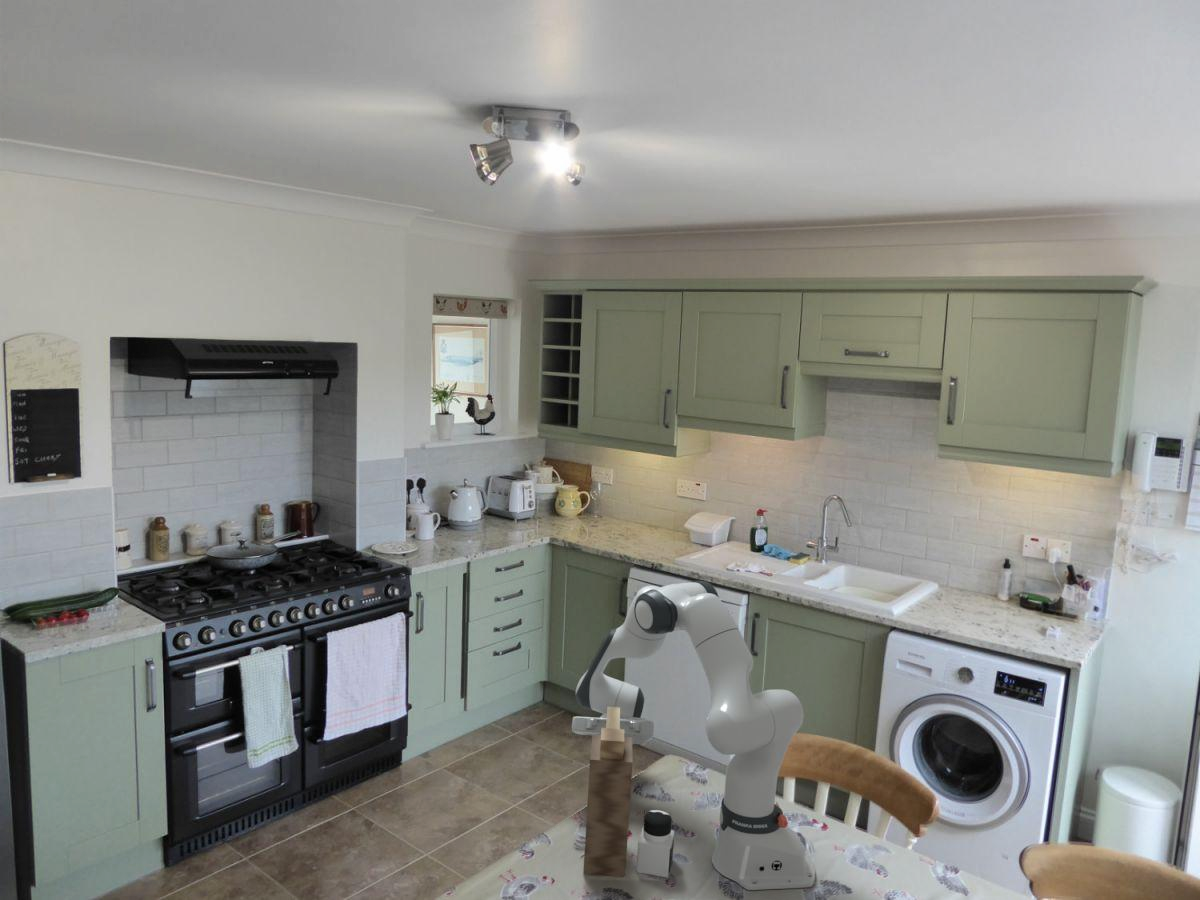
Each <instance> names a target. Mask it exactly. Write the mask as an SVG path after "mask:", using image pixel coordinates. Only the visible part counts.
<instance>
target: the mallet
mask: <svg viewBox="0 0 1200 900" xmlns="http://www.w3.org/2000/svg"><path fill="white" fill-rule="evenodd" d="M623 754H624V729H620V707H607V721H606V728H602V729H601V744H600V758H607V759H621V760H623Z"/></svg>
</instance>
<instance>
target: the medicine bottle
mask: <svg viewBox="0 0 1200 900" xmlns="http://www.w3.org/2000/svg"><path fill="white" fill-rule="evenodd" d="M672 822H673V818H672V816H671V814H669V813H668V812H666V811H663V810H660V809H659V810H658V809H654V810H653V809H652V810H649V811H647V812H646V813H645V814H644V816H643V826H642V829H641V831H640V836H639V839H638V842H637V859H636V872H637V873H639V874H645V875H651V876H657V877H662V878H667V879H668V878H669V877H670V873H671V869H672V864H673V859H674V846H675V831H674V829H672Z"/></svg>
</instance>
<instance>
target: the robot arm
mask: <svg viewBox="0 0 1200 900" xmlns="http://www.w3.org/2000/svg"><path fill="white" fill-rule="evenodd" d="M677 631H685V632H686V633H687V634H688V636H689V638H690V641H691V643H692V645H693V648H694V650H695V653H696V654H697V656H698V659H699V661H700V664H701V667H702V668H703V670H704V673H705V676H706V678H707V681H708V685H709V689H710V709H709V712H708V715H707V717H706V719H705V727H704V728H705V733H706V738H707V740H708V741H709V744H710V745H711V746H712V748H713V749H714V750H715V751H716V752H718V753H720V754H722V755H727V756H728V755H733V756H732V758H731V759H730V760H729V762H728V765H727V766H726V770H725V782H724V792H723V793H724V794H723V798H722V800H721V806H720V812H719V826H720V829H719V833H718V838H717V842H716V845H715V849H714V851H713V854H712V856H711V862H712V865H713V868H714V869H715V870H716V871H717V872H718V873H720V874H721V875H722V876H724V877H726V878H727V879H730V880H731V881H734V882H736V883H737V884H738V885H740V886H741V887H742V888H744V889H746V890H747V891H748V890H749V891H755V890H756V891H759V890H762V891H763V890H779V889H780V890H781V889H783V890H784V889H798V888H799V889H801V888H803V889H804V888H811V887H812V886H813V885H814V884H815V881H816V870H815V867H814V864H813V862H812V860H811V857H809V855H808V854H807V853H806V852H805V848H804V844H803V843H802V840H801V838H800V836H799V835H798V833H796V831H794V830H793V829H792V828H790V827H789V826H788V825H789V822H788V820H787V816H786V815H784V812H783V810H782V808H781V807H780V805H779V803H778V802H775V801H776V792H777V782H778V777H779V772H780V770H781V766H782V763H783V760H784V757H785V756H786V752H787V751H788V747H789V745H790V743H791V741H792V740H793V737H794V736H795V734H796V733H797V732H799V731H798V730H800V728H801V727H802V725H803V722H804V719H805V718H804V717H805V714H804V707H803V705H802V703H801V700H799V697H797V695H796V694H795V693H793V692H792V691H790V690H787V689H766V690H763V691H759V692H756V693H753V692H752V690H751V689H752V688H751V685H750V679H749V677H750V673H751V671H752V670H753V668H754V658H753V655H752V653H751V652H750V650H749V647H748V645H747V643H746V641H745V639H744V637H743V634H742V632H741V630H740V629H739V626H738V624H737V623H736V621H735V619H734V617H733V616H732V614H731V612H730V611H729V609H728V608H727V606H726V604H725V603H724V602H723V601H722V600H721V599H720V596H719V594H718V591H717V590H716V588H715V587H714V586H713V585H712V583H709V582H708V581H704V580H692V581H689V582H682V583H681V582H679V583H671V584H667V585H663V586H661V587H660V586H657V585H646V586H643V587H642V588H640V589H639V590H638V591H637V593H636V594H635V596H634V598H633V599H632V601H631V603H630V606H629V608H628V611H627V613H626V617H625V620H624V622H623V623H622V624H621V625H620V626H619V627H617V628H611V629H610V630H609V631H608V633H607V634H606V636H605V637H604V638H603V640H602V642H601V644H600V645H599V647H598V648H597V650H596V653H595V654H594V656H593V658H592V660H591V662H590V664H589V666H588V667H587V669H586V671H585V672H584V673H583V675H582V676H581V678H579V681H578V683H577V685H576V689H575V695H574V696H575V699H576V701H577V704H579V706H580V707H581V708H582V709H587V710H589V711H595V712H597V713H600V714H602V715H601V716H599V717H593V716H592V717H591V716H580V715H579V716H573V717H572V721H571V722H572V723H571V731H572V732H573V733H574V734H578V735H583V736H584V735H586V736H592V735H601V729H602V728H606V721H607V707H620V729H624V737H632V747H634V746H645V745H646V744H647V742H648V741H649V742H650V740H652V739H653V737H654V729H655V728H654V727H655V724H654V720H648V719H646V718H644V717H641V716H642V713H643V710H644V704H645V697H644V693H643V691H642V689H641V687H639V686H637V685H633V684H632V683H628V682H626V681H622V680H619V679H616V678H615V677H614V678H613V677H611V676H608V675H606V674H605V673H603V672H604V671H605V670H606V667H607V665H608V664H609V662H610V661H611V660H614V659H620V658H624V659H625V658H627V659H644V658H645V659H646V658H649V657H651V656H653V655H655V654H656V653H658V651H660V649H661V648H662V645H663V644H664V643H665V639H666V637H667V634H668V633H669V634H670V633H673V632H677Z"/></svg>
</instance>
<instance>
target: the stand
mask: <svg viewBox="0 0 1200 900" xmlns="http://www.w3.org/2000/svg"><path fill="white" fill-rule="evenodd" d="M591 736H592V738H591V745H590V746H591V747H590V757H589V769H588V770H589V771H588V789H587V803H586V804H587V806H586V809H587V810H586V822H585V823H586V824H585V825H586V826H585V837H584V838H585V841H584V854H583V855H584V856H583V857H584V858H583V873H582V875H584V876H585V875H586V876H595V877H596V876H598V877H609V876H610V878H611V877H612V878H615V877H616V878H623V877H625V878H626V871H627V870H626V868H627V855H628V854H627V853H628V842H629V841H628V840H629V839H628V838H629V820H630V811H631V810H630V807H631V794H632V793H631V792H632V777H633V776H632V775H633V758H634V757H633V746H632V737H624V754H623V760H621V759H607V758H600V744H601V735H591Z"/></svg>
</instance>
